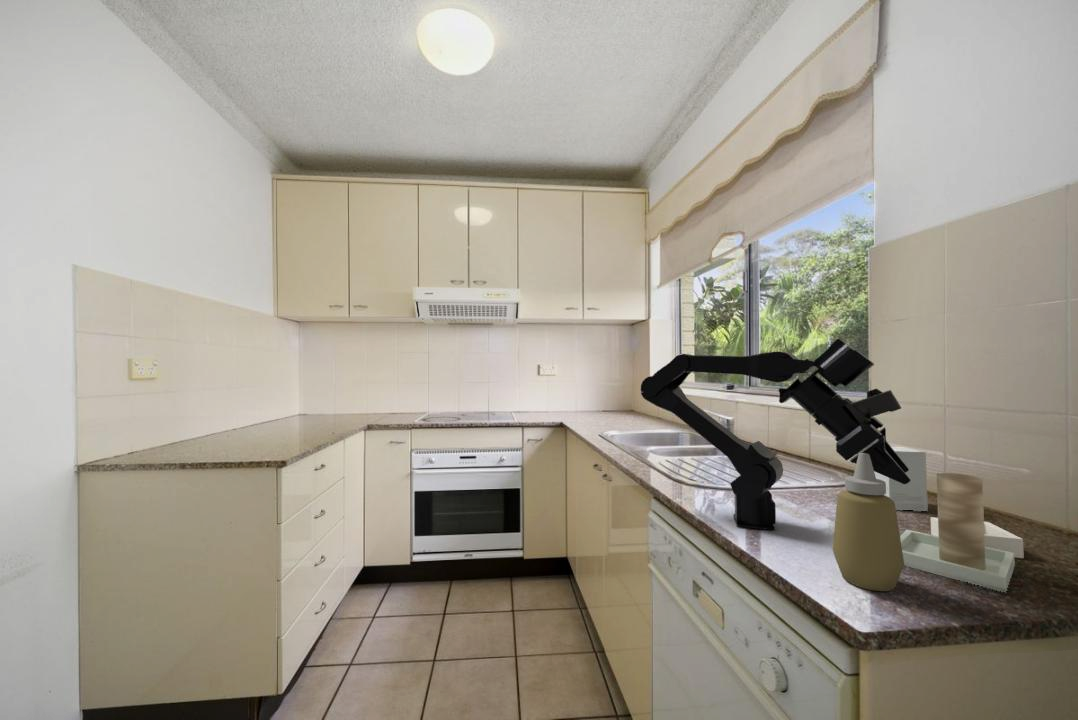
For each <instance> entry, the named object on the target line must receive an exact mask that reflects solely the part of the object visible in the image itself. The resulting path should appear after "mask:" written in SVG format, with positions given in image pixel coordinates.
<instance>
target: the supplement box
mask: <svg viewBox="0 0 1078 720" xmlns="http://www.w3.org/2000/svg"><path fill="white" fill-rule="evenodd" d="M890 446H891V445H890ZM891 447H892V449H893V450H894V451H895V452H896V454H897V455H898V456H899V457H900V459H901V460H902V461H903V462H904V464H905V465H906V466H907V467H908V469H909V471H907V472H906V473H905V474H906V475H907V476H908V477H909V478H910V480H911V481H910V482H909V483H907V484H902V483H900V482H898V481H895V480H893V479H891V478H888V477H886V476H884V475H882V474H879V473H877V472H875V471H874V473H875V476H876V479H880V480H882V481H884V482H885V483H886V494H884V495H885V496H887V497H889V498H890V499H892V500H893V501H894V503H895V507H896V511H903V510H913V511H912V512H921V511H927V512H928V511H929V510H928V509H929V507H928V505H929V504H928V501H929V500H928V479H927V457H926V456H927V455H926V453H927V452H925V451H922V450H918V449H915V448H910V447H907V446H891Z"/></svg>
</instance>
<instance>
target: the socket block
mask: <svg viewBox="0 0 1078 720" xmlns="http://www.w3.org/2000/svg"><path fill="white" fill-rule="evenodd" d="M930 535H934V536H939V530H938V517H933V516H932V517H931V516H930ZM984 537H985V547H989V548H994V549H998V550H1003V551H1007V552H1012V553H1014V559H1024V557H1025V556H1024V554H1025V553H1024V539H1023V538H1021V537H1019V536H1017V535H1015V534H1014V533H1012V532H1010V531H1007V530H1005V529H1003V528H1001V527H999V526H997V525H995V524H993V523H991V522H989V521H984Z"/></svg>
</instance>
